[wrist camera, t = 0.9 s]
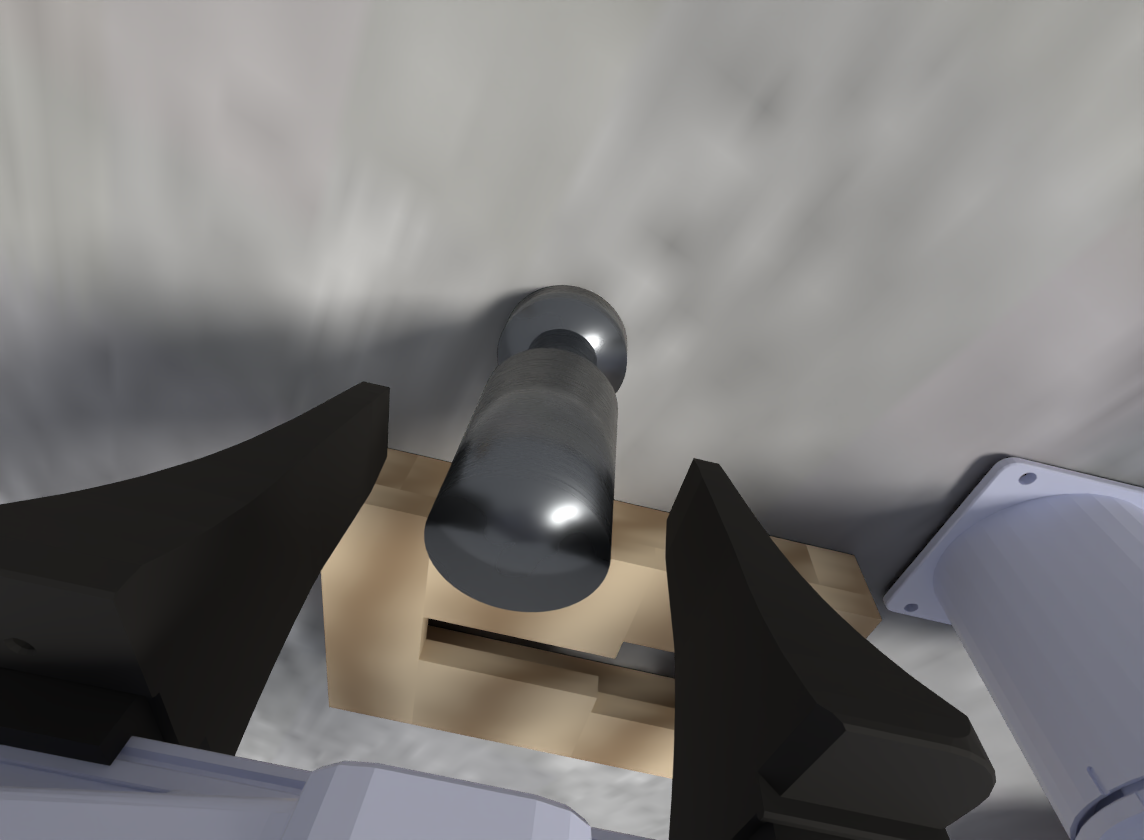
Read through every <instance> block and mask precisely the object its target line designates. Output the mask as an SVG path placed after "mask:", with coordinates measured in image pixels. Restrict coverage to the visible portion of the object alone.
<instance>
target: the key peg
mask: <svg viewBox="0 0 1144 840" xmlns="http://www.w3.org/2000/svg"><path fill="white" fill-rule="evenodd" d="M497 359H498V367H497V368H496V369H495V371H494V372H493V373H492V375H491V377H490V378H489V380H488V382H487V385H486V387H485V389H484V391H483V394H482V396H481V398H480V400H479V403H478V405H477V407H476V409H475V412H474V414H473V416H472V418H471V421H470V423H469V425H468V427H467V430H466V432H465V434H464V436H463V439H462V441H461V443H460V445H459V448H458V450H457V452H456V454H455V457H454V459H453V461H452V463H451V466H450V468H449V470H448V473H447V475H446V477H445V479H444V482H443V484H442V486H441V488H440V491H439V493H438V495H437V497H436V500H435V502H434V504H433V506H432V509H431V511H430V513H429V515H428V518H427V520H426V524H425V529H424V542H425V547H426V550H427V553H428V556H429V558H430V560H431V562H432V564H433V565H434V567H435V568H436V569H437V571H438V572H439V573H440V574H441V575H442V577H443V578H444V579H445V580H446V581H448V582H449V583H450V584H451V585H452V586H453V587H455V588H456V589H458V590H459V591H460V592H462V593H464V594H465V595H467V596H469V597H471V598H473V599H475V600H477V601H479V602H482V603H484V604H487V605H490V606H493V607H497V608H500V609H505V610H510V611H518V612H546V611H552V610H558V609H562V608H565V607H568V606H571V605H573V604H576V603H578V602H580V601H582V600H583V599H585V598H587V597H588V596H589V595H591V594H592V593H593V592H594V591H595V590H596V589H597V588H598V587H599V586H600V585H601V583H602V582H603V581H604V579H605V577H606V575H607V573H608V570H609V567H610V562H611V546H612V525H613V504H614V483H615V461H616V440H617V419H618V404H617V398H616V392H617V391H618V390H619V388H620V386H621V384H622V382H623V379H624V377H625V373H626V366H627V336H626V331H625V328H624V325H623V322H622V321H621V319H620V317H619V315H618V314H617V312H616V311H615V310H614V308H613V307H612V306H611V305H610V304H609V303H608V302H607V301H605V300H604V299H603V298H602V297H600V296H598V295H597V294H595V293H593V292H591V291H589V290H586V289H583V288H580V287H575V286H565V285H560V286H551V287H546V288H543V289H540V290H538V291H536V292H534V293H532V294H530V295H529V296H527V297H526V298H524V299H523V300H522V301H521V302H520V303H519V304H518V305H517V306H516V308H515V309H514V310H513V312H512V314H511V315H510V317H509V319H508V321H507V324H506V326H505V328H504V330H503V332H502V335H501V337H500V340H499V344H498V351H497Z"/></svg>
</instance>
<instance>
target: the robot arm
mask: <svg viewBox="0 0 1144 840" xmlns="http://www.w3.org/2000/svg"><path fill="white" fill-rule="evenodd" d="M389 393H390V388H389V387H385V386H380V385H376V384H372V383H367V382H362V383H360V384H358V385H356V386H354V387H352V388H350V389H348V390H346V391H344V392H343V393H341V394H339V395H337V396H335V397H334V398H332V399H330V400H328V401H326V402H325V403H323V404H321V405H319V406H317V407H315V408H313V409H311V410H309V411H308V412H306V413H304V414H302V415H300V416H298V417H296V418H294V419H292V420H290V421H288V422H286V423H284V424H282V425H280V426H277V427H275V428H273V429H271V430H269V431H267V432H265V433H263V434H260V435H258V436H256V437H254V438H252V439H249V440H247V441H245V442H242V443H240V444H237V445H235V446H232V447H230V448H227V449H225V450H222V451H219V452H217V453H214V454H211V455H208V456H206V457H203V458H200V459H197V460H194V461H191V462H187V463H184V464H181V465H177V466H174V467H171V468H167V469H164V470H161V471H158V472H154V473H151V474H148V475H144V476H140V477H136V478H132V479H128V480H124V481H120V482H116V483H112V484H108V485H103V486H99V487H94V488H90V489H85V490H80V491H75V492H70V493H65V494H60V495H54V496H48V497H42V498H36V499H31V500H25V501H19V502H13V503H7V504H0V840H655V839H650V838H645V837H640V836H635V835H630V834H624V833H619V832H614V831H609V830H604V829H599V828H594V827H590V825H589V824H588V823H587V822H586V820H585V819H584V818H582V817H581V816H580V815H579V814H577V813H576V812H575V811H574V810H572V809H571V808H570V807H569V806H567V805H565V804H562V803H559V802H556V801H553V800H550V799H547V798H544V797H541V796H538V795H534V794H529V793H524V792H519V791H514V790H509V789H504V788H499V787H494V786H489V785H484V784H479V783H474V782H469V781H464V780H459V779H454V778H449V777H444V776H440V775H435V774H430V773H425V772H420V771H415V770H410V769H405V768H400V767H395V766H390V765H385V764H380V763H369V762H356V761H342V762H338V763H334V764H330V765H327V766H323V767H320V768H318V769H316V770H314V771H307V770H302V769H297V768H292V767H287V766H282V765H277V764H272V763H267V762H262V761H257V760H252V759H247V758H242V757H237V756H235V754H236V751H237V749H238V747H239V744H240V742H241V740H242V737H243V735H244V732H245V730H246V728H247V725H248V723H249V720H250V718H251V716H252V713H253V711H254V709H255V707H256V704H257V702H258V700H259V698H260V695H261V693H262V691H263V689H264V687H265V684H266V682H267V680H268V678H269V675H270V673H271V671H272V669H273V666H274V664H275V662H276V660H277V658H278V656H279V654H280V652H281V649H282V647H283V645H284V643H285V641H286V639H287V637H288V635H289V632H290V630H291V628H292V626H293V624H294V622H295V620H296V618H297V616H298V614H299V612H300V610H301V608H302V606H303V604H304V602H305V600H306V598H307V596H308V594H309V592H310V590H311V588H312V586H313V584H314V582H315V581H316V579H317V577H318V575H319V574H320V572H321V570H322V569H323V567H324V565H325V564H326V562H327V561H328V559H329V558H330V556H331V554H332V553H333V551H334V550H335V548H336V547H337V545H338V544H339V542H340V540H341V539H342V537H343V536H344V534H345V533H346V531H347V530H348V528H349V526H350V525H351V523H352V522H353V520H354V519H355V517H356V515H357V514H358V512H359V511H360V509H361V508H362V506H363V504H364V503H365V501H366V500H367V498H368V496H369V495H370V493H371V491H372V489H373V487H374V485H375V483H376V481H377V478H378V476H379V474H380V472H381V470H382V467H383V465H384V463H385V461H386V458H387V449H388V421H389ZM1026 473H1028V474H1026ZM1023 474H1026V475H1025V476H1023V477H1021V476H1022V475H1023ZM665 560H666V572H667V582H668V592H669V602H670V611H671V621H672V630H673V640H674V654H675V720H674V756H673V778H672V800H671V815H670V830H669V840H950V839H949V837H948V834H947V832H946V829H945V827H947V826H948V825H950V824H951V823H953V822H954V821H956V820H957V819H959V818H960V817H962V816H963V815H965V814H967V813H968V812H970V811H971V810H973V809H974V808H976V807H977V806H978V805H980V804H981V803H982V802H983V801H984V800H985V799H986V798H988V797H989V795H990V793H991V791H992V789H993V787H994V785H995V783H996V776H995V770H994V768H993V766H992V764H991V762H990V760H989V758H988V756H987V754H986V752H985V750H984V748H983V746H982V744H981V742H980V740H979V738H978V736H977V734H976V732H975V730H974V728H973V726H972V724H971V722H970V721H969V719H968V717H967V716H966V715H965V714H963V713H962V712H960V711H959V710H958V709H956V708H955V707H953V706H952V705H951V704H949V703H948V702H946V701H945V700H944V699H942V698H941V697H939V696H938V695H937V694H935V693H934V692H932V691H931V690H930V689H928V688H927V687H926V686H924V685H923V684H921V683H920V682H919V681H917V680H916V679H914V678H913V677H912V676H911V675H909V674H908V673H907V672H905V671H904V670H903V669H902V668H900V667H899V666H898V665H897V664H895V663H894V662H893V661H892V660H890V659H889V658H888V657H887V656H885V655H884V654H883V653H882V652H881V651H879V650H878V649H877V648H876V647H875V646H874V645H872V644H871V643H870V642H869V641H868V640H866V639H865V638H864V637H863V636H862V635H861V634H860V633H859V632H857V631H856V630H855V629H854V628H853V627H852V626H851V625H850V624H849V623H848V622H847V621H846V620H845V619H843V618H842V617H841V616H840V615H839V614H838V613H837V612H836V611H835V610H834V609H833V608H832V607H831V606H830V605H829V604H828V603H827V602H826V601H825V600H824V599H823V598H822V597H821V596H820V595H819V594H818V593H817V592H816V591H815V590H814V589H813V587H812V586H811V585H810V584H809V583H808V582H807V581H806V580H805V579H804V578H803V577H802V576H801V574H800V573H799V572H798V571H797V570H796V569H795V568H794V566H793V565H792V564H791V563H790V562H789V560H788V559H787V558H786V557H785V555H784V554H783V553H782V552H781V550H780V549H779V548H778V547H777V546H776V544H775V543H774V542H773V540H772V539H771V538H770V536H769V535H768V534H767V532H766V531H765V530H764V528H763V527H762V526H761V524H760V523H759V521H758V520H757V519H756V517H755V516H754V514H753V513H752V512H751V510H750V509H749V507H748V506H747V504H746V503H745V501H744V500H743V498H742V497H741V496H740V494H739V493H738V491H737V490H736V488H735V487H734V485H733V484H732V482H731V481H730V479H729V478H728V476H727V475H726V473H725V472H724V470H723V469H722V468H721V466H720V465H719V464H717V463H713V462H708V461H704V460H700V459H695V458H694V459H693V461H692V463H691V466H690V468H689V470H688V472H687V475H686V477H685V479H684V481H683V484H682V486H681V488H680V491H679V493H678V495H677V497H676V500H675V502H674V504H673V506H672V509H671V511H670V513H669V516H668V518H667V523H666V548H665ZM883 602H884V604H885V606H886V608H887V609H888V610H890V611H892V612H897V613H901V614H905V615H910V616H914V617H919V618H923V619H927V620H932V621H936V622H941V623H945V624H950V625H952V626H953V628H954V629H955V631H956V633H957V635H958V637H959V638H960V640H961V642H962V644H963V646H964V648H965V649H966V651H967V653H968V655H969V657H970V658H971V660H972V662H973V664H974V666H975V668H976V669H977V671H978V673H979V675H980V677H981V678H982V680H983V682H984V684H985V686H986V687H987V689H988V691H989V693H990V695H991V697H992V698H993V700H994V702H995V704H996V706H997V707H998V709H999V711H1000V713H1001V715H1002V717H1003V718H1004V720H1005V722H1006V724H1007V726H1008V727H1009V729H1010V731H1011V733H1012V735H1013V736H1014V738H1015V740H1016V742H1017V744H1018V746H1019V747H1020V749H1021V751H1022V753H1023V755H1024V756H1025V758H1026V760H1027V762H1028V764H1029V765H1030V767H1031V769H1032V771H1033V773H1034V775H1035V776H1036V778H1037V780H1038V782H1039V784H1040V785H1041V787H1042V789H1043V791H1044V793H1045V795H1046V796H1047V798H1048V800H1049V802H1050V804H1051V805H1052V807H1053V809H1054V811H1055V813H1056V814H1057V816H1058V818H1059V820H1060V822H1061V824H1062V825H1063V827H1064V829H1065V831H1066V833H1067V834H1068V836H1069V838H1070V840H1144V488H1142V487H1137V486H1133V485H1129V484H1125V483H1121V482H1117V481H1112V480H1108V479H1104V478H1100V477H1096V476H1092V475H1088V474H1083V473H1079V472H1075V471H1071V470H1067V469H1063V468H1058V467H1054V466H1050V465H1046V464H1042V463H1038V462H1034V461H1029V460H1025V459H1021V458H1016V457H1010V458H1005V459H1002V460H1000V461H998V462H997V463H996V464H995V465H994V466H993V467H992V468H991V469H990V471H989V472H988V473H987V474H986V475H985V477H984V478H983V479H982V480H981V481H980V483H979V484H978V485H977V486H976V487H975V488H974V490H973V491H972V492H971V493H970V494H969V496H968V497H967V498H966V499H965V500H964V502H963V503H962V504H961V505H960V506H959V508H958V509H957V510H956V511H955V512H954V513H953V515H952V516H951V517H950V518H949V519H948V521H947V522H946V523H945V524H944V525H943V527H942V528H941V529H940V530H939V531H938V532H937V534H936V535H935V536H934V537H933V538H932V540H931V541H930V542H929V543H928V544H927V546H926V547H925V548H924V549H923V550H922V551H921V553H920V554H919V555H918V556H917V557H916V559H915V560H914V561H913V562H912V563H911V565H910V566H909V567H908V568H907V569H906V570H905V572H904V573H903V574H902V575H901V576H900V578H899V579H898V580H897V581H896V582H895V584H894V585H893V586H892V587H891V588H890V589H889V591H888V592H887V593H886V594H885V595H884V597H883Z"/></svg>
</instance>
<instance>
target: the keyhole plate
mask: <svg viewBox="0 0 1144 840" xmlns="http://www.w3.org/2000/svg"><path fill="white" fill-rule="evenodd" d="M450 466H451V463H450V462H446V461H441V460H437V459H433V458H428V457H424V456H420V455H415V454H411V453H407V452H402V451H398V450H393V449H389V448H388V449H387V458H386V461H385V463H384V465H383V467H382V470H381V472H380V474H379V476H378V478H377V481H376V483H375V485H374V487H373V489H372V491H371V493H370V495H369V496H368V498H367V500H366V501H365V503H364V504H363V506H362V508H361V509H360V511H359V512H358V514H357V515H356V517H355V519H354V520H353V522H352V523H351V525H350V526H349V528H348V530H347V531H346V533H345V534H344V536H343V537H342V539H341V540H340V542H339V544H338V545H337V547H336V548H335V550H334V551H333V553H332V554H331V556H330V558H329V559H328V561H327V562H326V564H325V565H324V567H323V569H322V570H321V581H322V597H323V614H324V630H325V647H326V663H327V680H328V697H329V707H332V708H337V709H342V710H346V711H351V712H356V713H361V714H366V715H370V716H375V717H380V718H385V719H389V720H394V721H399V722H404V723H409V724H413V725H418V726H423V727H428V728H432V729H437V730H442V731H447V732H452V733H456V734H461V735H466V736H471V737H475V738H480V739H485V740H490V741H495V742H499V743H504V744H509V745H514V746H518V747H523V748H528V749H533V750H538V751H542V752H547V753H552V754H557V755H561V756H566V757H571V758H576V759H581V760H585V761H590V762H595V763H600V764H604V765H609V766H614V767H619V768H623V769H628V770H633V771H638V772H643V773H647V774H652V775H657V776H662V777H666V778H671V779H672V778H673V756H674V720H675V679H674V678H669V677H664V676H660V675H655V674H651V673H646V672H641V671H637V670H632V669H628V668H623V667H618V666H614V665H609V664H605V663H600V662H595V661H591V660H586V659H581V658H577V657H572V656H568V655H563V654H558V653H554V652H549V651H545V650H540V649H535V648H531V647H526V646H522V645H517V644H512V643H508V642H503V641H499V640H494V639H489V638H485V637H480V636H476V635H471V634H466V633H462V632H457V631H453V630H448V629H443V628H439V627H434V626H430V625H428V618H430V619H434V620H439V621H444V622H448V623H453V624H457V625H462V626H467V627H471V628H476V629H480V630H485V631H490V632H494V633H499V634H503V635H508V636H513V637H517V638H522V639H526V640H531V641H536V642H540V643H545V644H549V645H554V646H558V647H563V648H568V649H572V650H577V651H581V652H586V653H591V654H595V655H600V656H604V657H609V658H614V659H615V658H616V656H617V654H618V651H619V649H620V647H621V645H622V643H623V642H628V643H633V644H637V645H642V646H646V647H651V648H655V649H660V650H664V651H669V652H674V640H673V630H672V621H671V611H670V602H669V592H668V582H667V572H666V560H665V548H666V523H667V518H668V516H669V513H667V512H663V511H659V510H654V509H650V508H646V507H641V506H637V505H633V504H628V503H624V502H620V501H615V500H614V504H613V525H612V546H611V562H610V567H609V570H608V573H607V575H606V577H605V579H604V581H603V582H602V583H601V585H600V586H599V587H598V588H597V589H596V590H595V591H594V592H593V593H592V594H591V595H589V596H588V597H587V598H585V599H583V600H582V601H580V602H578V603H576V604H573V605H571V606H568V607H565V608H562V609H558V610H552V611H546V612H518V611H510V610H505V609H500V608H497V607H493V606H490V605H487V604H484V603H482V602H479V601H477V600H475V599H473V598H471V597H469V596H467V595H465V594H464V593H462V592H460V591H459V590H458V589H456V588H455V587H453V586H452V585H451V584H450V583H449V582H448V581H446V580H445V579H444V578H443V577H442V575H441V574H440V573H439V572H438V571H437V569H436V568H435V567H434V565H433V564H432V562H431V560H430V558H429V556H428V553H427V550H426V547H425V542H424V529H425V524H426V520H427V518H428V515H429V513H430V511H431V509H432V506H433V504H434V502H435V500H436V497H437V495H438V493H439V491H440V488H441V486H442V484H443V482H444V479H445V477H446V475H447V473H448V470H449V468H450ZM770 538H771V539H772V540H773V542H774V543H775V544H776V546H777V547H778V548H779V549H780V550H781V552H782V553H783V554H784V555H785V557H786V558H787V559H788V560H789V562H790V563H791V564H792V565H793V566H794V568H795V569H796V570H797V571H798V572H799V573H800V574H801V576H802V577H803V578H804V579H805V580H806V581H807V582H808V583H809V584H810V585H811V586H812V587H813V589H814V590H815V591H816V592H817V593H818V594H819V595H820V596H821V597H822V598H823V599H824V600H825V601H826V602H827V603H828V604H829V605H830V606H831V607H832V608H833V609H834V610H835V611H836V612H837V613H838V614H839V615H840V616H841V617H842V618H843V619H845V620H846V621H847V622H848V623H849V624H850V625H851V626H852V627H853V628H854V629H855V630H856V631H857V632H859V633H860V634H861V635H862V636H863V637H864V638H865V639H866V638H867V637H868V636H869V635H870V633H871V632H872V631H873V630H874V629H875V628H876V626H877V625H878V624H879V623H880V622H881V621H882V618H881V616H880V614H879V612H878V609H877V607H876V605H875V602H874V600H873V598H872V595H871V593H870V591H869V588H868V586H867V584H866V582H865V579H864V577H863V575H862V572H861V570H860V568H859V565H858V563H857V561H856V558H855V556H854V555H850V554H846V553H841V552H837V551H833V550H828V549H824V548H819V547H815V546H811V545H806V544H802V543H798V542H793V541H789V540H785V539H780V538H776V537H772V536H770Z"/></svg>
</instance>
